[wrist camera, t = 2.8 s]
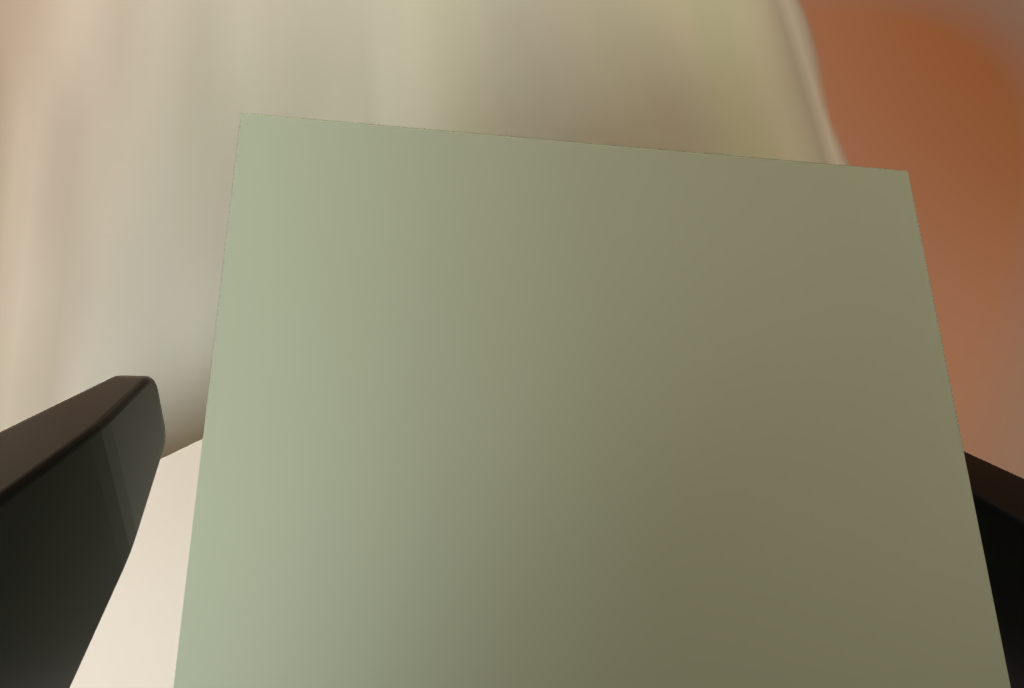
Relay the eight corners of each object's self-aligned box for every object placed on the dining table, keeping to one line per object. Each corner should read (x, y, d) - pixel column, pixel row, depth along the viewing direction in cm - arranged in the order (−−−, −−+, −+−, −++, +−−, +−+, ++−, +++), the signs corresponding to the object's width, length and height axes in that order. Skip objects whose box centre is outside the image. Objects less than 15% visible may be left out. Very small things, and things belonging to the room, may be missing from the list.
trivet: (767, 736, 15) (820, 766, 13) (284, 1127, 12) (261, 1239, 10) (519, 305, 17) (533, 278, 15) (42, 541, 14) (-15, 543, 12)
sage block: (586, 642, 13) (1061, 938, 4) (336, 652, 12) (127, 1065, 3) (577, 402, 15) (908, 170, 5) (350, 397, 14) (241, 112, 4)
